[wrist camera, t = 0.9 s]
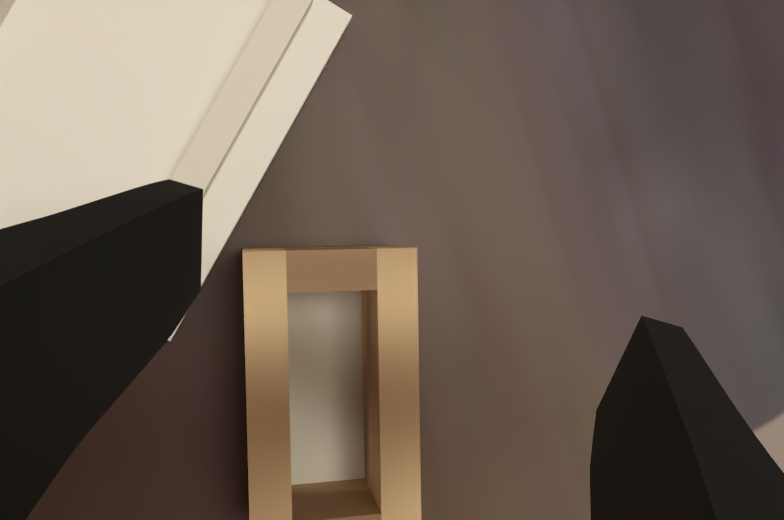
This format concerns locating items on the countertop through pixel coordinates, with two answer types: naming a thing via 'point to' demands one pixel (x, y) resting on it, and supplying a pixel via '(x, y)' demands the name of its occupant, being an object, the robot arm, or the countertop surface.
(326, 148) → the countertop surface
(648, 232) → the countertop surface
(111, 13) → the cream flat piece
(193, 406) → the countertop surface
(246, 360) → the frame
